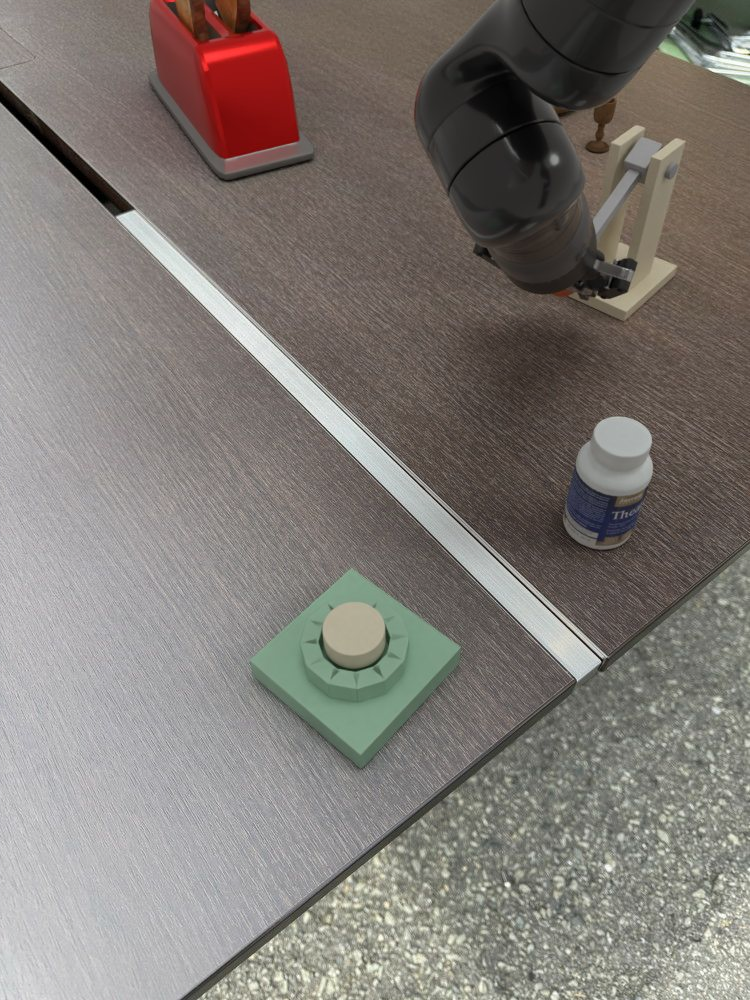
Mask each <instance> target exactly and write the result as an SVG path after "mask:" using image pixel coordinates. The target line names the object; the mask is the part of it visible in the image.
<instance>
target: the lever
mask: <svg viewBox="0 0 750 1000" xmlns="http://www.w3.org/2000/svg"><path fill="white" fill-rule="evenodd" d="M663 147H664V144H663V143H661V142H659V141H655V140H653V139H650V138H647V137H644V136H643V137H640V139H639V140H638V142H637V143H636V144H635V146H634V147H633V149H632V150H631V152H630V153H629V154H628V156H627V157H626V159H625V160H624V166H625V175H624V177H623V178H622V179H621V181H620V182H619V184H618V185H617V186H616V188H615V189H614V191H613V192H612V194H611V195H610V196H609V198H608V199H607V201H606V202H605V203H604V205H603V206H602V208H601V209H600V211H599V212H598V213H597V212H596V215H595V216H594V217H593V218H592V220H593V224H594V227H595V231H596V239H597V240H598V239H599V237H600V236H601V234H602V233H603V231H604V230H605V229H606V227H607V226H608V224H609V223H610V222H611V220H612V219H613V217H614V216H615V214H616V213H617V212H618V210H619V209H620V207H621V206H622V205H623V203H624V202H625V200H626V199H627V197H628V196H629V195H630V196H631V193H632V192H633V190H635V187H636V186H637V185H638V184H641V185H644V184H645V180H646V176H647V172H648V167H649V163H650V159H651V156H653V155H654V154H655V153H657V152H658V151H659V150H661V149H662V148H663ZM573 293H574V292H572V291H568V290H566V289H565V290H563V291H560V292H557V293H553V294H551V295H552V296H554V297H560V298H564V297H569V295H571V294H573Z"/></svg>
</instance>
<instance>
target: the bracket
mask: <svg viewBox="0 0 750 1000" xmlns="http://www.w3.org/2000/svg"><path fill="white" fill-rule="evenodd" d="M645 131H646V127H644V126H641V125H638V124H635V125H634V126H633V127H631V128H629V129H628V130H627V131H625V132H624V133H622V134H620V136H618V137H617V138H615V139H614V140H612V141H611V142H610V145H609V149H608V156H607V161H606V165H605V169H604V175H603V181H602V185H601V191H600V196H599V199H598V204H597V210H596V214H597V213H598V212H599V211H600V209H601V208H602V206H603V205H604V203H605V202H606V201H607V199H608V198H609V196H610V195H611V194H612V192H613V191H614V189H615V188H616V186H617V185H618V184H619V182H620V181H621V179H622V178H623V177H624V175H625V166H624V160H625V159H626V157H627V156H628V154H629V153H630V152H631V150H632V149H633V147H634V146H635V144H636V143H637V142H638V140H639V139H640V137H644V136H645ZM686 142H687V141H686V140H683V139H681V138H678V137H675V138H674V139H673V140H671V141H670V142H668V143H667V144H666V145H664V146H663V148H662V149H661V150H659V151H658V152H657V153H655V154H654V155H653V156H651V159H650V163H649V167H648V172H647V176H646V180H645V184H643V188H642V192H641V197H640V201H639V205H638V210H637V214H636V218H635V221H634V226H633V230H632V234H631V238H630V241H629V245H628V244H625V243H623V242H620V240H621V236H622V231H623V228H624V223H625V219H626V215H627V210H628V206H629V201H630V197H631V194H630V195H629V196H628V197H627V199H626V200H625V202H624V203H623V205H622V206H621V207H620V209H619V210H618V212H617V213H616V214H615V216H614V217H613V219H612V220H611V222H610V223H609V224H608V226H607V227H606V229H605V230H604V231H603V233H602V234H601V236H600V237H599V239H598V240H597V249H598V250H600V251H601V252H602V253H603V254H604V256H605V262H608V263H611V264H613V261H614V259H619V260H622V259H624V258H627V259H628V258H632V259H634V260H635V261H637V262H638V264H637V267H636V270H635V273H634V276H633V278H632V281H631V284H630V287H629V290H628V293H625V294H622V295H620V296H617V297H614V298H611V299H602V298H600V297H599V296H597V295H596V297H595V298H594V297H589V300H588V301H586V300H582V299H580V297H579V295H578V293H577V292H574V293H573V294H571V295H569V296H568V298H571V299H574V300H575V301H577V302H579V303H581V304H584V305H585V306H586V305H587V306H588V307H591V308H593V309H595V310H597V311H600V312H602V313H604V314H606V315H608V316H611V317H613V318H615V319H617V320H619V321H621V322H624V323H625V322H626V320H628V319H629V318H630V317H631V316H632V315H633V314H635V312H636V311H637V310H639V309H640V308H641V307H642V306H643V305H644V304H645V303H646V302H647V301H649V300H650V299H651V298H652V297H653V296H654V295H655V294H656V293H657V292H658V291H659V290H661V289H662V288H663V287H664V286H665V285H666V284H667V283H669V282H670V281H671V280H672V279H673V278H674V277H675V276H676V272H677V270H678V265H676V264H674V263H672V262H669V261H666V260H664V259H662V258H659V257H657V256H656V253H657V249H658V246H659V242H660V239H661V235H662V231H663V228H664V224H665V220H666V216H667V212H668V209H669V206H670V202H671V198H672V194H673V190H674V187H675V183H676V180H677V175H678V172H679V168H680V166H681V165H680V164H681V161H682V157H683V154H684V150H685V146H686ZM597 293H598V292H597Z"/></svg>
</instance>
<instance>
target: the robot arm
mask: <svg viewBox="0 0 750 1000" xmlns="http://www.w3.org/2000/svg"><path fill="white" fill-rule="evenodd" d="M696 1H697V0H494V2H493V3H492V4H491V5H490V6H489V7H488V8H487V9H486V10H485V11H484V12H483V13H482V14H481V15H480V16H479V17H478V18H477V20H475V22H474V23H473V24H472V25H471V26H470V27H469V28H468V29H467V30H466V31H465V32H464V33H463V34H462V35H461V36H460V37H459V38H458V39H457V40H456V41H455V42H453V43H452V45H450V46H449V47H448V48H447V49H446V50H445V51H443V53H442V54H440V56H438V57H437V59H435V60H434V61H433V63H432V64H431V65H430V66H429V67H428V68H427V70H426V71H425V73H424V74H423V75H422V77H421V80H420V82H419V84H418V87H417V91H416V94H415V100H414V106H413V107H414V108H413V121H414V122H413V123H414V128H415V131H416V135H417V138H418V140H419V143H420V145H421V146H422V148H423V150H424V152H425V154H426V156H427V158H428V160H429V162H430V164H431V166H432V168H433V170H434V172H435V174H436V176H437V178H438V180H439V183H440V184H441V185H442V188H443V190H444V192H445V194H446V196H447V198H448V199H449V202H450V204H451V206H452V208H453V210H454V212H455V213H456V216H457V218H458V219H459V221H460V223H461V225H462V226H463V228H464V229H465V231H466V233H467V234H468V235H469V237H470V238H471V239H472V240H473V242H474V243H475V244H474V247H473V250H472V253H473V254H474V255H475V256H476V257H479V258H481V259H482V260H483V261H485V262H487V263H489V264H490V265H492V266H493V267H495V268H497V269H499V270H500V271H501V272H503V273H504V274H505V276H506V277H507V279H508V280H509V281H510V283H512V284H513V285H514V286H516V287H517V288H519V289H521V290H523V291H525V292H527V293H530V294H534V295H552V294H553V293H557V292H560V291H563V290H565V289H566V290H568V291H572V292H577V293H578V295H579V297H580V299H582V300H586V301H588V300H589V297H594V298H595V297H596V295H597V296H599V297H600V298H602V299H611V298H614V297H617V296H620V295H622V294H625V293H628V290H629V287H630V284H631V281H632V278H633V276H634V273H635V270H636V267H637V264H638V262H637V261H635V260H634V259H632V258H628V259H627V258H624V259H622V260H619V259H614V261H613V264H611V263H608V262H605V256H604V254H603V253H602V252H601V251H600V250H598V249H597V239H596V231H595V227H594V224H593V217H592V214H591V210H590V207H589V204H588V200H587V197H586V196H585V194H584V189H585V187H586V174H585V171H584V167H583V164H582V161H581V158H580V155H579V154H578V151H577V150H576V147H575V145H574V143H573V141H572V139H571V137H570V135H569V133H568V130H567V129H566V128H565V126H564V125H563V123H562V120H561V119H560V117H559V114H558V115H557V113H556V111H555V109H554V107H553V106H556V107H558V108H562V109H566V110H569V111H573V112H583V111H584V112H585V111H590V110H594V108H597V107H599V106H601V105H604V104H605V103H607V102H609V101H610V100H611V99H613V98H614V97H615V98H616V97H617V95H618V94H620V93H621V92H622V91H623V90H624V89H625V88H626V87H627V86H628V84H630V82H631V81H632V80H633V79H634V78H635V76H636V75H637V74H638V73H639V71H640V70H641V69H642V68H643V67H644V65H645V64H646V63H647V62H648V60H649V59H650V58H651V57H652V55H653V54H654V53H655V52H656V51H657V50H658V48H659V47H660V46H661V44H662V43H663V42H664V41H665V39H666V38H667V37H668V36H669V34H670V33H671V32H672V30H673V29H674V28H675V27H676V26H677V25H678V23H679V22H681V20H682V18H683V17H684V16H685V14H687V13H688V11H689V10H690V9H691V7H692V6H693V5H694V3H696ZM597 292H598V293H597Z"/></svg>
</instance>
